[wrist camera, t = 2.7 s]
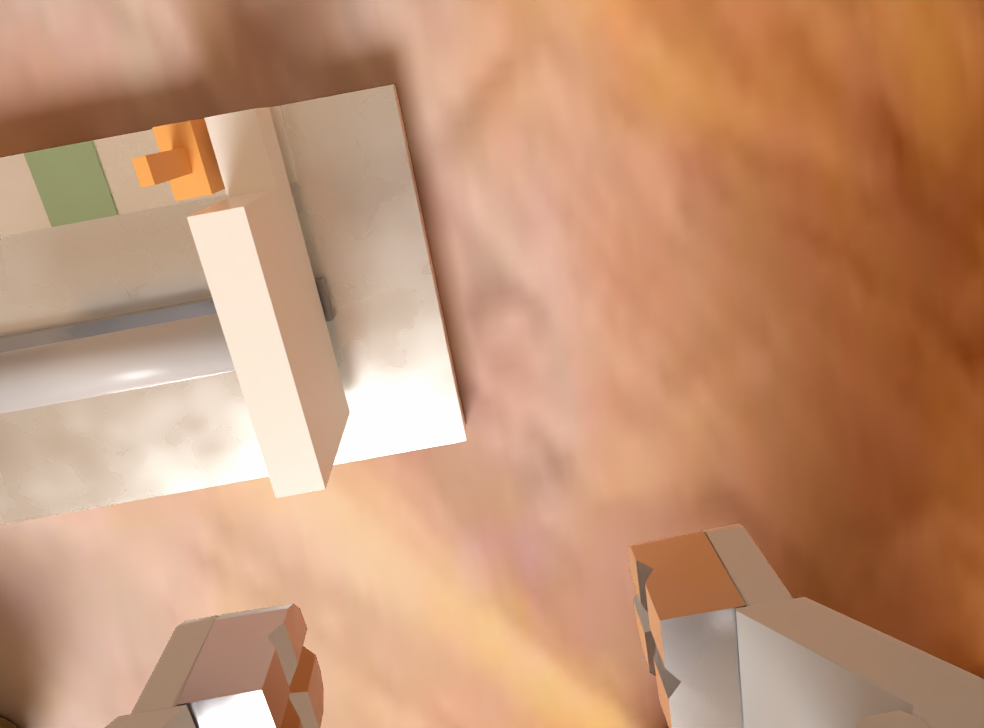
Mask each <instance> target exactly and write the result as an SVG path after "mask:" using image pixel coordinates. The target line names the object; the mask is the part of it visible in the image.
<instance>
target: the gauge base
mask: <svg viewBox="0 0 984 728" xmlns="http://www.w3.org/2000/svg"><path fill="white" fill-rule="evenodd" d="M269 109H270V113H271V117H272V121H273V124H274V128H275V132H276V136H277V139H278V143H279V147H280V151H281V154H282V158H283V162H284V166H285V170H286V173H287V177H288V181H289V185H290V188H291V192H292V196H293V200H294V203H295V207H296V211H297V215H298V219H299V222H300V226H301V230H302V234H303V237H304V241H305V245H306V249H307V253H308V256H309V260H310V264H311V268H312V271H313V275H314V279H315V283H316V286H317V290H318V294H319V298H320V302H321V305H322V309H323V313H324V317H325V320H326V324H327V328H328V332H329V336H330V339H331V343H332V347H333V351H334V354H335V358H336V362H337V366H338V369H339V373H340V377H341V381H342V385H343V388H344V392H345V396H346V400H347V403H348V407H349V411H350V414H349V417H348V420H347V423H346V426H345V429H344V432H343V436H342V439H341V442H340V445H339V448H338V451H337V454H336V458H335V461H334V464H333V465H335V464H341V463H346V462H352V461H357V460H363V459H369V458H374V457H380V456H385V455H391V454H396V453H402V452H407V451H413V450H419V449H424V448H430V447H435V446H441V445H446V444H452V443H457V442H463V441H466V424H465V419H464V414H463V409H462V404H461V399H460V395H459V390H458V385H457V380H456V375H455V370H454V365H453V361H452V356H451V351H450V346H449V341H448V336H447V331H446V327H445V322H444V317H443V312H442V307H441V302H440V298H439V293H438V288H437V283H436V278H435V273H434V268H433V264H432V259H431V254H430V249H429V244H428V239H427V234H426V230H425V225H424V220H423V215H422V210H421V205H420V201H419V196H418V191H417V186H416V181H415V176H414V171H413V167H412V162H411V157H410V152H409V147H408V142H407V138H406V133H405V128H404V123H403V118H402V113H401V108H400V104H399V99H398V94H397V89H396V85H393V84H392V85H387V86H382V87H376V88H371V89H366V90H360V91H355V92H350V93H344V94H339V95H333V96H328V97H323V98H317V99H312V100H307V101H301V102H296V103H291V104H285V105H280V106H274V107H269ZM159 152H160V151H159V148H158V145H157V142H156V138H155V135H154V132H153V129H151V130H146V131H140V132H135V133H129V134H124V135H119V136H113V137H108V138H103V139H97V140H92V141H86V142H81V143H76V144H70V145H65V146H60V147H54V148H49V149H43V150H38V151H33V152H27V153H22V154H17V155H12V156H6V157H1V158H0V353H2V352H8V351H13V350H19V349H24V348H30V347H35V346H41V345H46V344H52V343H57V342H62V341H68V340H73V339H79V338H84V337H90V336H95V335H101V334H106V333H112V332H117V331H123V330H128V329H133V328H139V327H144V326H150V325H155V324H161V323H166V322H172V321H177V320H183V319H188V318H193V317H199V316H204V315H210V314H215V313H217V311H216V308H215V305H214V302H213V298H212V295H211V292H210V289H209V286H208V283H207V280H206V276H205V273H204V270H203V267H202V264H201V261H200V258H199V254H198V251H197V248H196V245H195V242H194V239H193V235H192V232H191V229H190V226H189V223H188V220H187V217H188V216H190V215H192V214H194V213H196V212H198V211H200V210H202V209H205V208H207V207H209V206H211V205H213V204H215V203H217V202H219V201H221V200H223V199H226V198H228V196H227V193H226V190H225V189H223V190H221V191H218V192H216V193H214V194H211V195H206V196H200V197H195V198H189V199H184V200H179V201H175V198H174V195H173V191H172V188H171V185H170V182H169V181H166V182H163V183H160V184H157V185H152V186H147V187H142V188H141V186H140V183H139V180H138V177H137V174H136V171H135V168H134V165H133V162H132V159H131V158H135V157H140V156H145V155H149V154H154V153H159ZM263 477H269V475H268V472H267V468H266V465H265V462H264V459H263V456H262V453H261V450H260V446H259V443H258V440H257V437H256V434H255V431H254V427H253V424H252V421H251V418H250V415H249V412H248V409H247V405H246V402H245V399H244V396H243V393H242V390H241V387H240V383H239V380H238V377H237V374H236V371H232V372H227V373H221V374H216V375H210V376H205V377H199V378H194V379H188V380H183V381H177V382H172V383H167V384H161V385H156V386H150V387H145V388H139V389H134V390H128V391H123V392H117V393H112V394H106V395H101V396H95V397H90V398H84V399H79V400H73V401H68V402H62V403H57V404H51V405H46V406H40V407H35V408H29V409H24V410H18V411H13V412H7V413H2V414H0V525H2V524H7V523H13V522H19V521H24V520H30V519H35V518H41V517H46V516H52V515H57V514H63V513H69V512H74V511H80V510H85V509H91V508H96V507H102V506H107V505H113V504H119V503H124V502H130V501H135V500H141V499H146V498H152V497H157V496H163V495H169V494H174V493H180V492H185V491H191V490H196V489H202V488H207V487H213V486H219V485H224V484H230V483H235V482H241V481H246V480H252V479H257V478H263Z"/></svg>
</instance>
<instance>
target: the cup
mask: <svg viewBox="0 0 984 728" xmlns="http://www.w3.org/2000/svg"><path fill="white" fill-rule="evenodd" d="M0 728H17V727H16V726H15V725H14V724H13V723H11V722H10V721H8V720H6V719H4V718H2V717H0Z"/></svg>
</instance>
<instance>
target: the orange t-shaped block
mask: <svg viewBox="0 0 984 728" xmlns="http://www.w3.org/2000/svg"><path fill="white" fill-rule="evenodd" d="M152 129H153V132H154V135H155V138H156V142H157V145H158V148H159V151H160V152H159V153H154V154H149V155H145V156H140V157H135V158H131V159H132V162H133V165H134V168H135V171H136V174H137V177H138V180H139V183H140V186H141V188H142V187H147V186H152V185H157V184H160V183H163V182H166V181H169V182H170V185H171V188H172V191H173V195H174V198H175V201H179V200H184V199H189V198H195V197H200V196H206V195H211V194H214V193H216V192H218V191H221V190H223V189H225V186H224V183H223V180H222V176H221V173H220V169H219V166H218V163H217V159H216V156H215V152H214V149H213V146H212V142H211V139H210V136H209V132H208V129H207V125H206V122H205V119H197V120H189V121H183V122H178V123H173V124H167V125H162V126H157V127H152Z"/></svg>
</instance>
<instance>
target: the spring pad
mask: <svg viewBox="0 0 984 728" xmlns="http://www.w3.org/2000/svg"><path fill="white" fill-rule="evenodd" d="M204 119H205V122H206V125H207V129H208V132H209V136H210V139H211V142H212V146H213V149H214V152H215V156H216V159H217V163H218V166H219V169H220V173H221V176H222V180H223V183H224V186H225V190H226V193H227V196H228V198H226V199H223V200H221V201H219V202H217V203H215V204H213V205H211V206H209V207H207V208H205V209H202V210H200V211H198V212H196V213H194V214H192V215H190V216H188V217H187V220H188V223H189V226H190V229H191V232H192V235H193V239H194V242H195V245H196V248H197V251H198V254H199V258H200V261H201V264H202V267H203V270H204V273H205V276H206V280H207V283H208V286H209V289H210V292H211V295H212V298H213V302H214V305H215V308H216V311H217V313H215V314H210V315H204V316H199V317H193V318H188V319H183V320H177V321H172V322H166V323H161V324H155V325H150V326H144V327H139V328H133V329H128V330H123V331H117V332H112V333H106V334H101V335H95V336H90V337H84V338H79V339H73V340H68V341H62V342H57V343H52V344H46V345H41V346H35V347H30V348H24V349H19V350H13V351H8V352H2V353H0V414H2V413H7V412H13V411H18V410H24V409H29V408H35V407H40V406H46V405H51V404H57V403H62V402H68V401H73V400H79V399H84V398H90V397H95V396H101V395H106V394H112V393H117V392H123V391H128V390H134V389H139V388H145V387H150V386H156V385H161V384H167V383H172V382H177V381H183V380H188V379H194V378H199V377H205V376H210V375H216V374H221V373H227V372H232V371H236V374H237V377H238V380H239V383H240V387H241V390H242V393H243V396H244V399H245V402H246V405H247V409H248V412H249V415H250V418H251V421H252V424H253V427H254V431H255V434H256V437H257V440H258V443H259V446H260V450H261V453H262V456H263V459H264V462H265V465H266V468H267V472H268V475H269V478H270V481H271V484H272V487H273V490H274V494H275V497H276V498H279V497H285V496H290V495H296V494H302V493H307V492H313V491H318V490H324V489H326V486H327V483H328V480H329V476H330V473H331V470H332V467H333V464H334V461H335V458H336V454H337V451H338V448H339V445H340V442H341V439H342V436H343V432H344V429H345V426H346V423H347V420H348V417H349V414H350V411H349V407H348V403H347V400H346V396H345V392H344V388H343V385H342V381H341V377H340V373H339V369H338V366H337V362H336V358H335V354H334V351H333V347H332V343H331V339H330V336H329V332H328V328H327V324H326V320H325V317H324V313H323V309H322V305H321V302H320V298H319V294H318V290H317V286H316V283H315V279H314V275H313V271H312V268H311V264H310V260H309V256H308V253H307V249H306V245H305V241H304V237H303V234H302V230H301V226H300V222H299V219H298V215H297V211H296V207H295V203H294V200H293V196H292V192H291V188H290V185H289V181H288V177H287V173H286V170H285V166H284V162H283V158H282V154H281V151H280V147H279V143H278V139H277V136H276V132H275V128H274V124H273V121H272V117H271V113H270V109H269V107H264V108H254V109H248V110H243V111H238V112H232V113H227V114H222V115H216V116H211V117H206V118H204Z"/></svg>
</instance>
